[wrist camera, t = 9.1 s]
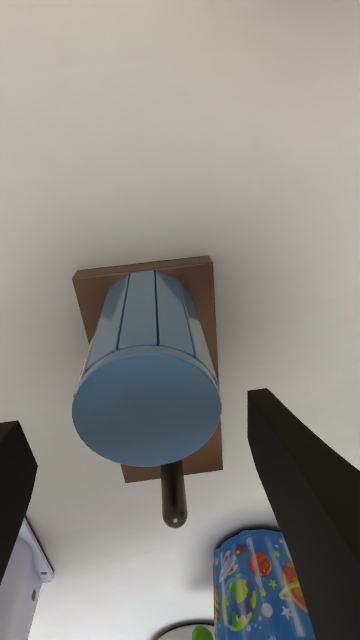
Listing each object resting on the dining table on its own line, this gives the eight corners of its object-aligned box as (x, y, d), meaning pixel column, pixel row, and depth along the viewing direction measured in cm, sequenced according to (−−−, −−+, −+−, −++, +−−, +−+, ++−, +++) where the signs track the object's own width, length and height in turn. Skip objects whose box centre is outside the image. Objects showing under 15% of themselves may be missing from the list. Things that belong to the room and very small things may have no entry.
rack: (219, 456, 24) (240, 543, 19) (126, 468, 24) (119, 560, 19) (209, 255, 17) (236, 301, 12) (76, 270, 17) (41, 325, 12)
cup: (197, 347, 18) (224, 457, 12) (112, 358, 18) (90, 475, 12) (190, 265, 16) (219, 344, 9) (93, 276, 16) (53, 364, 9)
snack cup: (220, 600, 34) (245, 760, 25) (151, 564, 30) (152, 740, 21) (350, 532, 30) (435, 692, 21) (292, 481, 26) (367, 652, 17)
